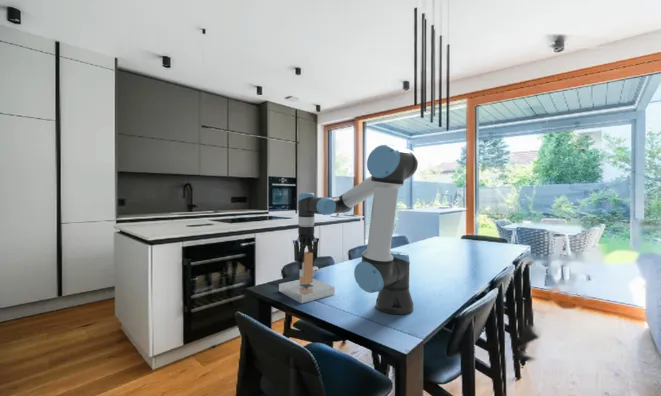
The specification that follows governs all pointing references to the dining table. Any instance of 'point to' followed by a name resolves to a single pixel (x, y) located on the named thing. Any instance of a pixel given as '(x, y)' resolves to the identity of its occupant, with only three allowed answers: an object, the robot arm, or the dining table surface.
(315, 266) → the showerhead
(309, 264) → the keyed peg
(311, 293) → the plate
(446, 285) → the dining table surface
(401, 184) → the robot arm
